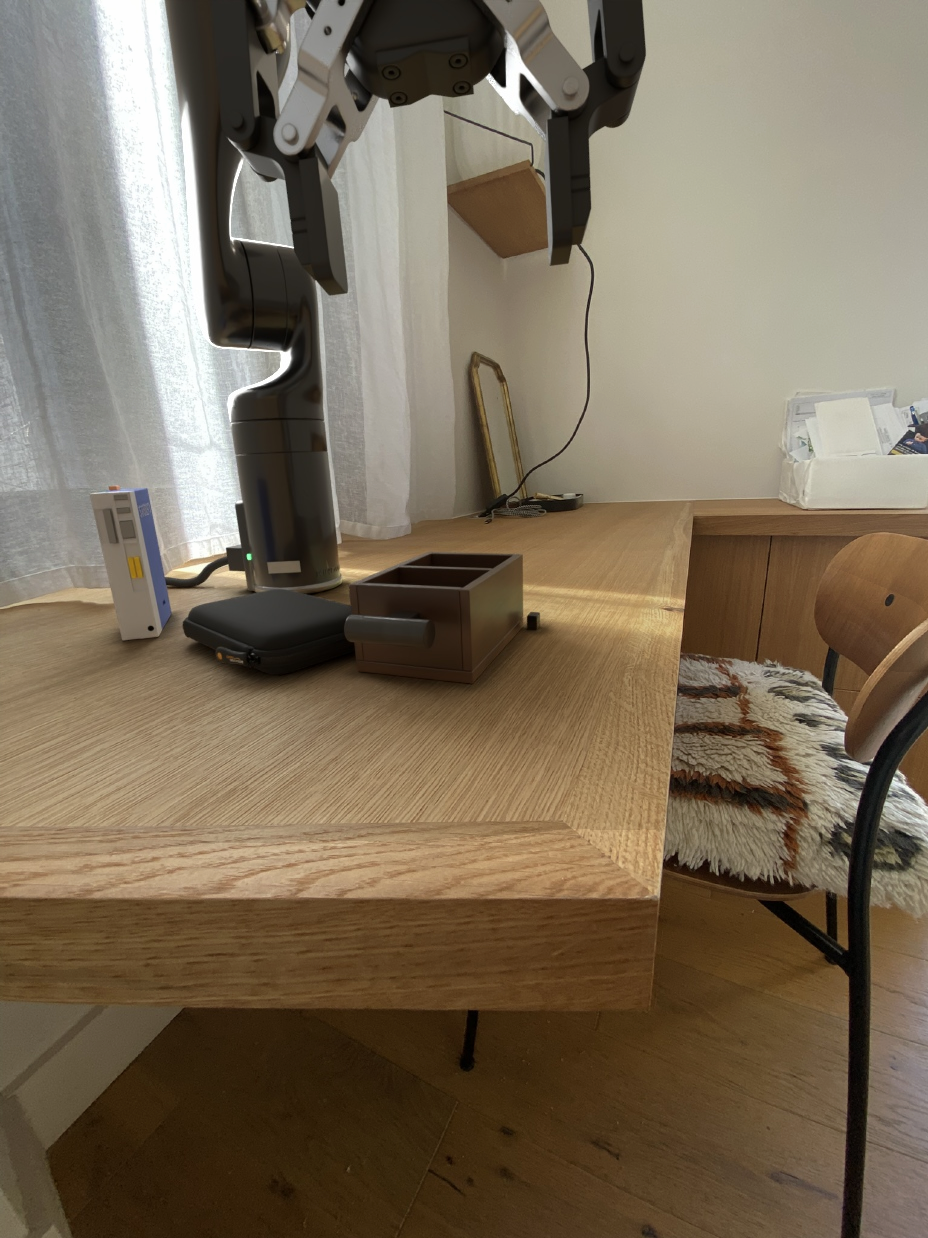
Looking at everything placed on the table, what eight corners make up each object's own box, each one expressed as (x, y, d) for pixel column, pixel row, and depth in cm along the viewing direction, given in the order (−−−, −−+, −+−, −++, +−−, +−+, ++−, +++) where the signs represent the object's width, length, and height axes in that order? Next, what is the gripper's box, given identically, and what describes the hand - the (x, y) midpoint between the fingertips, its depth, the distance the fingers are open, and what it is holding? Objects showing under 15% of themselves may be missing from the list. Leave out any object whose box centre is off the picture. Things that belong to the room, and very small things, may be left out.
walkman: (139, 617, 52) (111, 485, 49) (172, 613, 53) (146, 483, 49) (120, 641, 45) (85, 489, 41) (158, 637, 46) (128, 487, 42)
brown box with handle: (453, 706, 30) (447, 604, 29) (328, 691, 33) (317, 596, 32) (523, 626, 44) (522, 553, 42) (431, 620, 47) (427, 551, 45)
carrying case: (163, 646, 43) (253, 694, 33) (155, 608, 42) (245, 646, 32) (287, 615, 50) (391, 647, 41) (283, 582, 50) (388, 607, 40)
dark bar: (415, 622, 47) (414, 608, 46) (421, 618, 48) (420, 605, 47) (536, 631, 43) (536, 616, 43) (540, 626, 44) (540, 612, 44)
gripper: (609, -194, 20) (622, 288, 23) (241, -115, 22) (297, 328, 25) (660, -590, 13) (669, 186, 16) (101, -428, 15) (205, 252, 18)
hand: (442, 272), depth 20 cm, fingers open, 8 cm apart
